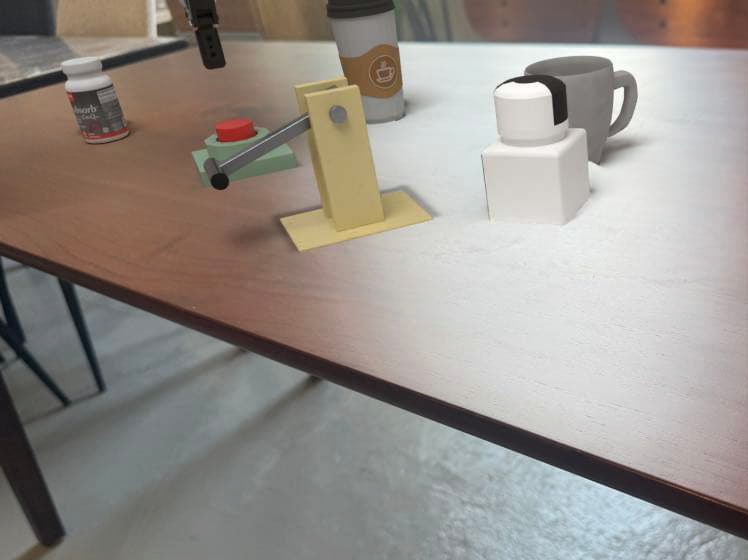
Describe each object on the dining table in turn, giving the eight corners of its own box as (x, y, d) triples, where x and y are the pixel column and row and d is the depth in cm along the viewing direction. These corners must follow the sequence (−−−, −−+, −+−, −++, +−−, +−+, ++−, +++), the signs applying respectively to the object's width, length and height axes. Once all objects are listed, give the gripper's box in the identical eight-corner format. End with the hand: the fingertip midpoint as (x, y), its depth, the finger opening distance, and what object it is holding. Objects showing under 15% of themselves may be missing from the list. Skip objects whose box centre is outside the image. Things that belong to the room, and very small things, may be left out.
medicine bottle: (520, 202, 81) (506, 69, 75) (591, 206, 79) (583, 68, 72) (489, 231, 76) (471, 91, 69) (565, 236, 73) (554, 91, 67)
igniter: (206, 192, 92) (194, 155, 90) (196, 170, 99) (186, 135, 97) (298, 172, 95) (289, 135, 93) (283, 152, 102) (274, 118, 100)
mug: (555, 183, 85) (547, 81, 79) (518, 161, 91) (508, 66, 86) (659, 157, 88) (658, 58, 83) (616, 138, 95) (613, 45, 90)
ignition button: (221, 147, 93) (217, 131, 92) (217, 138, 96) (212, 123, 95) (259, 139, 94) (254, 123, 93) (253, 131, 97) (248, 116, 96)
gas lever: (221, 198, 70) (203, 173, 69) (213, 182, 74) (196, 157, 73) (359, 118, 72) (344, 92, 70) (344, 106, 76) (330, 81, 74)
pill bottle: (75, 144, 114) (45, 66, 109) (106, 131, 118) (78, 55, 113) (109, 144, 112) (80, 65, 107) (139, 131, 117) (112, 54, 111)
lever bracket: (302, 263, 73) (262, 110, 66) (282, 230, 80) (244, 89, 73) (434, 230, 77) (410, 82, 70) (404, 201, 84) (379, 64, 77)
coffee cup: (366, 131, 107) (340, -1, 98) (338, 119, 113) (311, -6, 104) (424, 115, 111) (404, -13, 102) (394, 105, 116) (372, -17, 108)
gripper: (118, -120, 85) (173, 63, 95) (125, -121, 75) (185, 85, 85) (196, -127, 88) (242, 52, 97) (212, -129, 78) (261, 72, 87)
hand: (215, 67), depth 91 cm, fingers closed
